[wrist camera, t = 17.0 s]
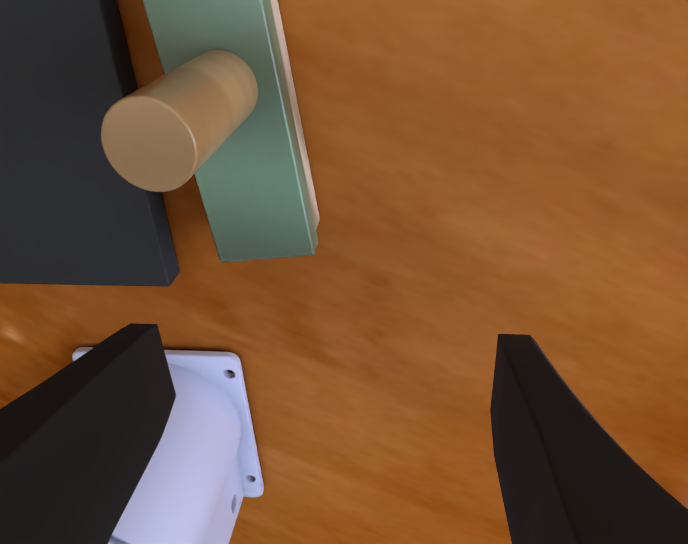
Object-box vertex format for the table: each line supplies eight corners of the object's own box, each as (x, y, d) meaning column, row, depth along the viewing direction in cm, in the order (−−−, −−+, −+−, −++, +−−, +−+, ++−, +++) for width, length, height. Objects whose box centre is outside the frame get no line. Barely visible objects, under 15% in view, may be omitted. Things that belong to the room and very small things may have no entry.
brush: (325, 224, 22) (280, 356, 15) (239, 232, 23) (159, 362, 16) (253, -158, 16) (128, -220, 9) (139, -133, 17) (-55, -175, 10)
